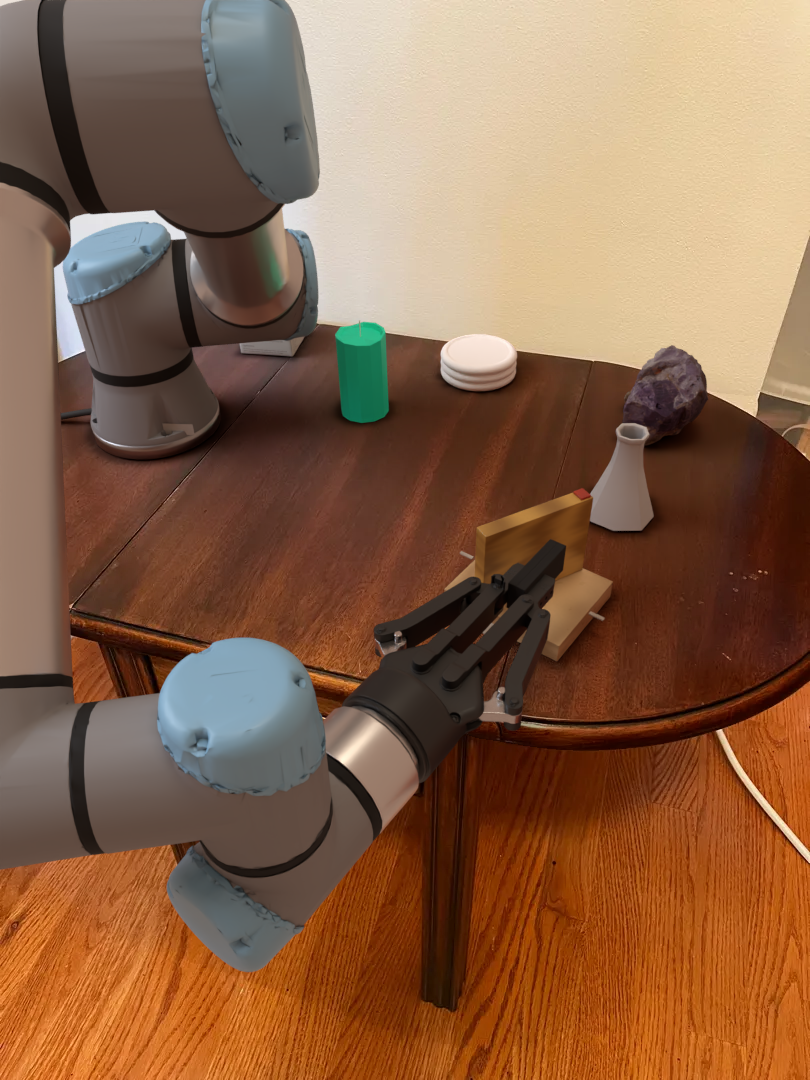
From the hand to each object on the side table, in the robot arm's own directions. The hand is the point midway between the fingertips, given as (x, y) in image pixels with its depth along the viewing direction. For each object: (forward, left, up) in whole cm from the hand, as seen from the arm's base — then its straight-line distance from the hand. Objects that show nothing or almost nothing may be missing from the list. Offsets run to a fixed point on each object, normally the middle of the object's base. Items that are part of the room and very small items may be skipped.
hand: (556, 554), depth 69 cm
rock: (+5, +37, -9) cm, 39 cm away
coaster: (-19, +43, -9) cm, 48 cm away
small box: (-49, +43, -9) cm, 66 cm away
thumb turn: (-3, +3, -7) cm, 8 cm away
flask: (+3, +19, -9) cm, 22 cm away
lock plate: (-3, +3, -9) cm, 10 cm away
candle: (-30, +30, -9) cm, 43 cm away
